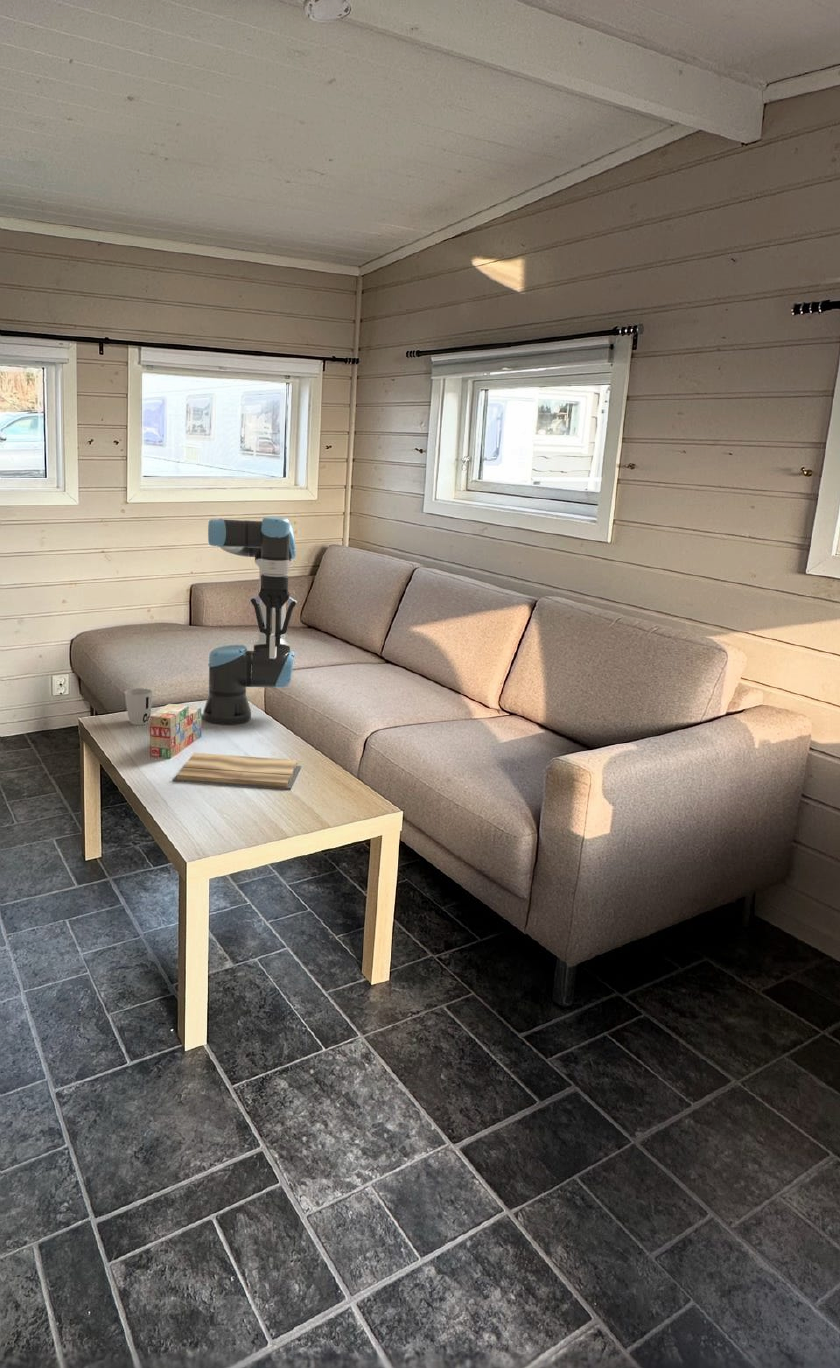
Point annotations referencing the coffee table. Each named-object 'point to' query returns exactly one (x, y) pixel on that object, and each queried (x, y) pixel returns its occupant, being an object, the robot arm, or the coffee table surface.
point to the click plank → (241, 764)
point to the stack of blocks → (174, 729)
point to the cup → (138, 705)
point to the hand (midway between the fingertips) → (272, 657)
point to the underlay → (245, 784)
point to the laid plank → (234, 777)
